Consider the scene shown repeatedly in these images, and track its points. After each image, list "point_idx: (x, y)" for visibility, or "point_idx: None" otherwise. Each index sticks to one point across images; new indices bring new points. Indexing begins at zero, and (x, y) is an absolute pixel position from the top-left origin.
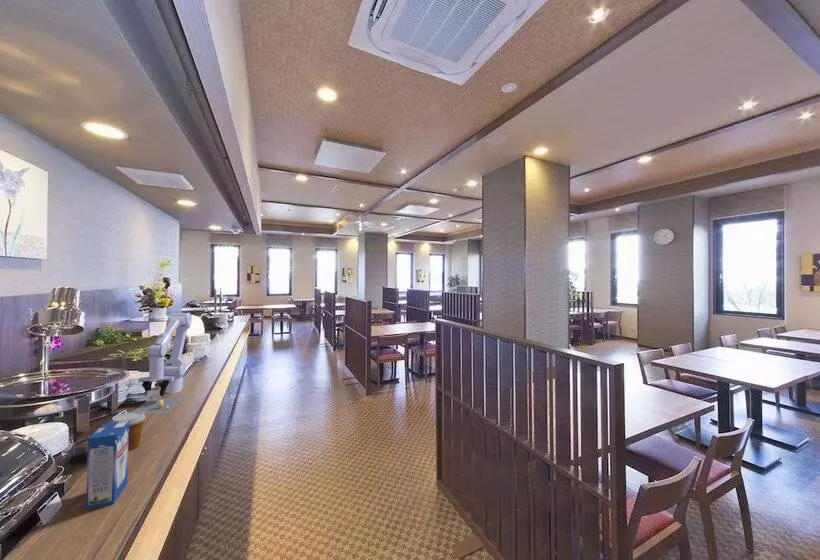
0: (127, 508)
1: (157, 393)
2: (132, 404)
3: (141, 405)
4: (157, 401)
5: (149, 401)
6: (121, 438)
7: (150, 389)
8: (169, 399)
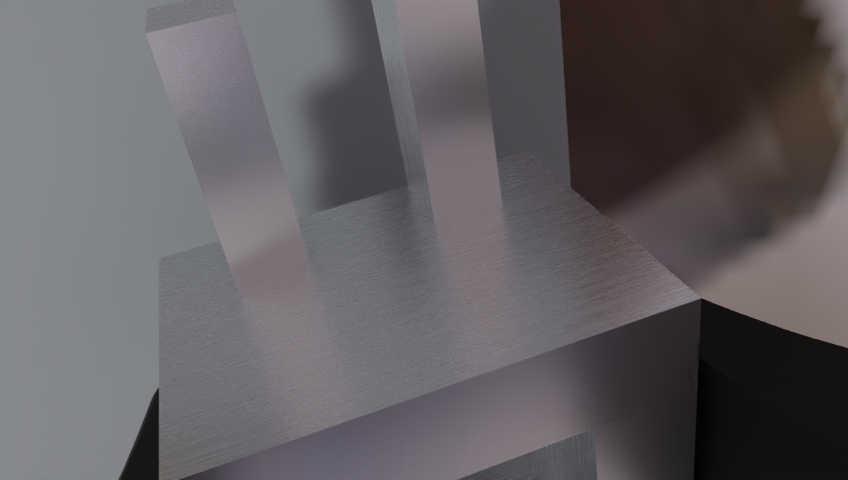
0: None
1: (241, 349)
2: (785, 174)
3: (555, 16)
4: None
5: None
6: None
7: (655, 458)
8: None
